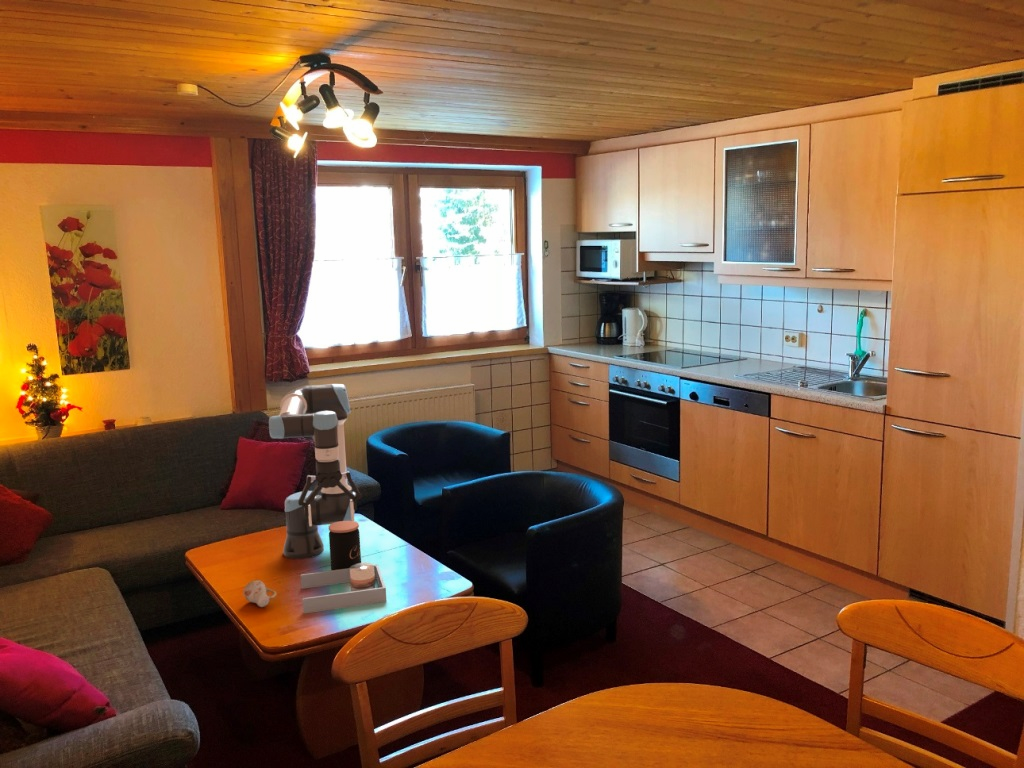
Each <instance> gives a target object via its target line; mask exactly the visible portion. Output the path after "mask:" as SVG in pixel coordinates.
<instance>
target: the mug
mask: <svg viewBox="0 0 1024 768" xmlns="http://www.w3.org/2000/svg"><path fill="white" fill-rule="evenodd" d="M267 592H269V593H272V594H273V595H272V594H271V595H268V594H267ZM243 596H244V598H245V600H247V601H248V602H250V603H253V604H256V605H257V606H258V607H260V608H263V607H266V606H268V604H269V603H270V599H275V598H276V596H277V591H276V590H273V589H271V588H269V587H267V586H266V585H265V583H264V582H263V581H262V580H257V579H256V580H251V581H250V582H247V584H246V585H245V586H244V589H243Z"/></svg>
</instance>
